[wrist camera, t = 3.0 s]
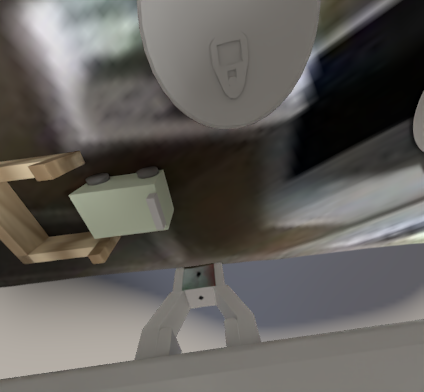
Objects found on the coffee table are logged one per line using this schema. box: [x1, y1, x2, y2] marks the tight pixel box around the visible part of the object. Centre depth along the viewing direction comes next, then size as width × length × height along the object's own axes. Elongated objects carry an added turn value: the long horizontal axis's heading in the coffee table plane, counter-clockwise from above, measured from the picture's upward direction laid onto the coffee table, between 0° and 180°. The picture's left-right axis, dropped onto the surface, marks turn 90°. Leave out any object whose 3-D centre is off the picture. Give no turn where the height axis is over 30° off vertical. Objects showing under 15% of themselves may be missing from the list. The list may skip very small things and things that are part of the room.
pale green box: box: [68, 166, 174, 239], centre depth 20 cm, size 9×7×6 cm
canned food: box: [137, 0, 320, 129], centre depth 12 cm, size 8×8×11 cm
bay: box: [0, 151, 121, 264], centre depth 21 cm, size 12×13×5 cm
